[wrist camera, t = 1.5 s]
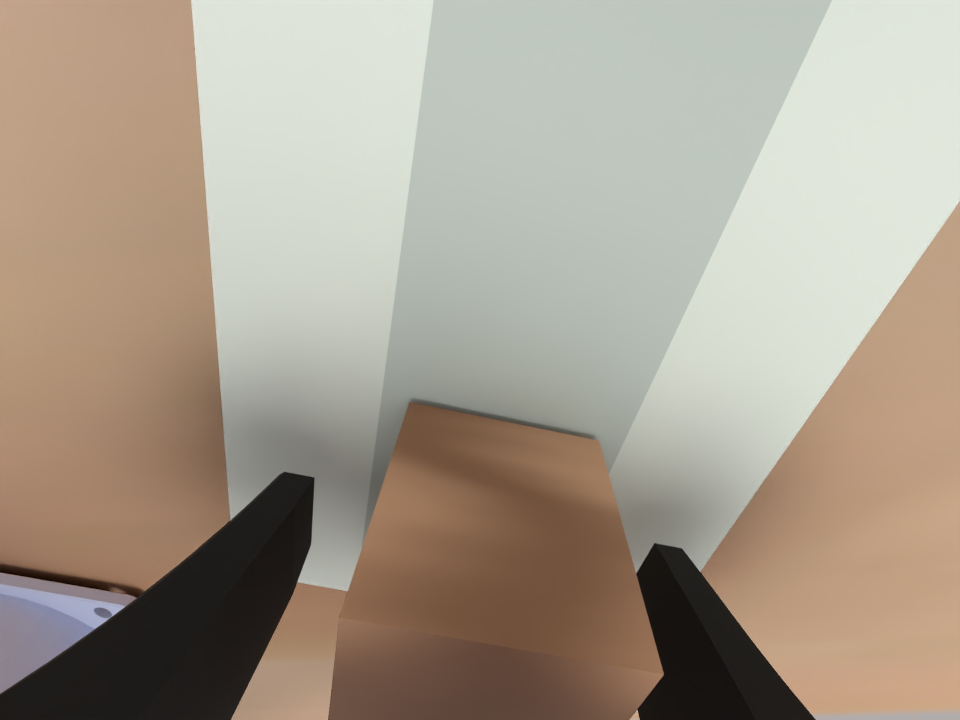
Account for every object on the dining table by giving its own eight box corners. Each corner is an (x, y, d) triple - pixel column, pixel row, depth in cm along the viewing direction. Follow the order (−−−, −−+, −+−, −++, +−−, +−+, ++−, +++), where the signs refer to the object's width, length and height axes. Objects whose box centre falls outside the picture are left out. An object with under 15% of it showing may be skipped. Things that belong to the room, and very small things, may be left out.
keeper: (382, 560, 12) (320, 789, 8) (409, 401, 9) (339, 618, 5) (534, 588, 12) (549, 824, 8) (599, 440, 10) (663, 674, 6)
